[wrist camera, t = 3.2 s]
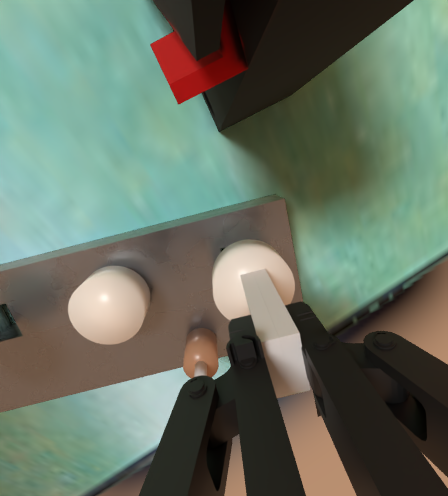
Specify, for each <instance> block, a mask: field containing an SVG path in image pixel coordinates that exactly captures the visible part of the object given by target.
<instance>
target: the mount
mask: <svg viewBox="0 0 448 496" xmlns="http://www.w3.org/2000/svg"><path fill="white" fill-rule="evenodd" d="M248 239H252V240H259V241H262V242H265V243H267V244H269V245H270V246H272V247H273V248H274V249H275V250H276V251H277V252H278V254H279V255H280V256H281V257H282V259H283V260H284V261H285V263H286V264H287V265H288V266H289V268H290V270H291V272H292V274H293V277H294V281H295V291H294V296H293V299H292V301H291V303H290V304H292V303H296V302H300V301H301V302H303V298H302V292H301V287H300V281H299V275H298V270H297V264H296V259H295V253H294V248H293V242H292V237H291V231H290V226H289V220H288V215H287V209H286V204H285V199H284V198H282V197H280V196H278V195H276V194H273V195H269V196H266V197H262V198H258V199H254V200H250V201H246V202H242V203H238V204H234V205H231V206H227V207H223V208H219V209H215V210H211V211H207V212H203V213H199V214H196V215H192V216H188V217H184V218H180V219H176V220H172V221H168V222H164V223H160V224H157V225H153V226H149V227H145V228H141V229H137V230H133V231H129V232H125V233H122V234H118V235H114V236H110V237H106V238H102V239H98V240H94V241H90V242H87V243H83V244H79V245H75V246H71V247H67V248H63V249H59V250H55V251H52V252H48V253H44V254H40V255H36V256H32V257H28V258H24V259H20V260H16V261H13V262H9V263H5V264H1V265H0V412H4V411H8V410H12V409H16V408H20V407H24V406H28V405H32V404H36V403H40V402H44V401H48V400H52V399H56V398H60V397H64V396H68V395H72V394H76V393H80V392H84V391H88V390H92V389H96V388H100V387H104V386H108V385H112V384H116V383H120V382H124V381H128V380H132V379H136V378H140V377H144V376H148V375H152V374H156V373H160V372H164V371H168V370H172V369H176V368H180V367H183V363H184V354H185V345H186V338H187V336H188V334H189V333H190V332H191V331H193V330H194V329H197V328H206V329H209V330H211V331H212V332H213V333H214V334H215V335H216V338H217V350H218V358H220V357H224V356H228V354H227V350H226V346H227V343H228V342H229V341H230V337H229V329H228V325H229V323H230V320H228V319H227V318H226V317H225V316H224V315H223V314H222V313H221V312H220V311H219V310H218V308H217V306H216V304H215V301H214V297H213V284H212V269H213V265H214V262H215V260H216V258H217V257H218V255H219V254H220V253H221V252H222V250H221V248H225V247H227V246H229V245H231V244H233V243H235V242H237V241H241V240H248ZM106 266H123V267H126V268H129V269H131V270H133V271H135V272H136V273H138V274H139V275H140V276H141V277H142V278H143V279H144V280H145V282H146V283H147V285H148V287H149V290H150V296H151V297H150V305H149V308H148V310H147V313H146V315H145V318H144V321H143V323H142V326H141V328H140V329H139V331H138V332H137V333H136V334H135V335H134V336H133V337H132V338H130V339H129V340H127V341H125V342H122V343H119V344H111V345H107V344H99V343H95V342H93V341H90V340H88V339H87V338H85V337H83V336H82V335H81V334H80V333H79V332H78V331H77V330H76V329H75V328H74V326H73V325H72V323H71V321H70V318H69V314H68V304H69V300H70V298H71V296H72V294H73V293H74V291H75V290H76V289H77V288H78V287H79V286H80V285H81V284H82V283H83V282H84V281H85V280H86V279H87V278H88V277H89V276H90V275H91V274H92V273H93V272H95V271H96V270H98V269H100V268H103V267H106ZM5 303H6V305H7V307H8V309H9V311H10V312H11V314H12V316H13V318H14V320H15V322H16V324H11V322H10V321H9V319H8V317H7V315H6V313H5V311H4V310H3V308H2V306H1V304H5Z"/></svg>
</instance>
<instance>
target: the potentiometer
mask: <svg viewBox="0 0 448 496" xmlns="http://www.w3.org/2000/svg"><path fill="white" fill-rule="evenodd" d="M183 369H184V372H185V373H186V375H187V376H189V377H190V378H194V377H196V376H201V375H205V376H209V377H212V376H214V375H215V373H216V372H217V370H218V350H217V338H216V335H215V334H214V333H213V332H212V331H211V330H209V329H206V328H197V329H194V330H193V331H191V332H190V333H189V334H188V336H187V338H186V345H185V354H184V363H183Z"/></svg>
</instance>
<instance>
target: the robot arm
mask: <svg viewBox="0 0 448 496" xmlns="http://www.w3.org/2000/svg"><path fill="white" fill-rule="evenodd" d="M240 277H241V281H242V285H243V289H244V293H245V297H246V301H247V305H248V309H249V313H250V315H247V316H243V317H239V318H235V319H231V321H230V323H229V325H228V329H229V337H230V341H229V342H228V343H227V346H226V350H227V354H228V357H229V360H230V364H231V367H230V368H229V370H228V371H227V372H226V373H225V374H224V375H222V376H220V377H219V378H217V379H215V380H213V378H211V377H209V376H205V375H201V376H196V377H194V378H192V379H190V380H188V381H187V382H186V383H185V384H184V385H183V387H182V388H181V390H180V392H179V395H178V397H177V400H176V402H175V405H174V408H173V410H172V413H171V415H170V418H169V420H168V423H167V425H166V428H165V430H164V433H163V436H162V438H161V441H160V443H159V446H158V448H157V451H156V453H155V456H154V458H153V461H152V463H151V466H150V469H149V471H148V474H147V476H146V479H145V482H144V484H143V486H142V489H141V492H140V494H139V496H224V493H225V486H226V480H227V473H228V467H229V460H230V454H231V446H232V438H233V437H235V436H236V435H238V434H239V435H240V444H241V452H242V460H243V468H244V475H245V485H246V493H247V496H306V495H305V491H304V488H303V485H302V481H301V478H300V474H299V471H298V468H297V464H296V461H295V457H294V455H293V451H292V447H291V444H290V441H289V438H288V434H287V431H286V427H285V424H284V420H283V417H282V414H281V410H280V407H279V404H278V400H277V398H281V397H285V396H289V395H293V394H298V393H301V392H306V391H310V385H311V387H312V389H313V393H314V398H315V404H316V408H317V414H318V416H322V418H323V420H324V423H325V425H326V427H327V429H328V432H329V434H330V436H331V438H332V441H333V443H334V445H335V448H336V449H337V452H338V454H339V457H340V459H341V461H342V463H343V466H344V468H345V470H346V472H347V475H348V477H349V479H350V481H351V484H352V486H353V488H354V490H355V493H356V495H357V496H448V488H447V487H446V486H445V484H444V483H443V481H442V480H441V479H440V477H439V476H438V475H437V473H436V472H435V470H434V469H433V468H432V466H431V465H430V464H429V462H428V461H427V460H426V458H425V457H424V455H425V456H426V457H427V458H428V459H430V461H431V462H432V463H433V464H434V465H435V466H437V467H438V468H439V469H440V470H441V471H442V472H443V473H444V474H445V475H446V476H447V477H448V365H447V364H446V363H444V362H443V361H441V360H439V359H438V358H436V357H434V356H433V355H431V354H429V353H428V352H426V351H424V350H423V349H421V348H419V347H418V346H416V345H414V344H412V343H411V342H409V341H407V340H406V339H404V338H403V337H401V336H399V335H397V334H395V333H392V332H387V331H376V332H372V333H369V334H368V335H366V336H365V338H364V343H355V344H352V343H343V342H340V340H339V339H338V338H337V337H335V336H334V335H331V334H328V332H327V331H326V329H325V328H324V327H323V325H322V324H321V322H320V321H319V319H318V318H317V317H316V315H315V314H314V312H313V311H312V310H311V308H310V307H309V305H307V304H305V303H303V302H301V301H300V302H296V303H292V304H288V305H284V303H283V301H282V299H281V297H280V296H279V294H278V292H277V290H276V288H275V286H274V284H273V283H272V281H271V279H270V277H269V275H268V273H267V271H266V269H262V270H258V271H254V272H250V273H246V274H242V275H240ZM309 383H310V385H309ZM421 452H422V453H423V454H424V455H423V454H422V453H421Z"/></svg>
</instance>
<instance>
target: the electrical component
mask: <svg viewBox="0 0 448 496" xmlns="http://www.w3.org/2000/svg"><path fill="white" fill-rule="evenodd" d="M153 1H154V3H155V4H156V6H157V7H158V8H159V10H160V11H161V12H162V14H163V15H164V17H165V18H166V19H167V21H168V22H169V24H170V25H171V26H172V28H173V30H174V32H172V33H170V34H168V35H166V36H165V37H163V38H161V39H159V40H157V41H156V42H154V43H152V44H150V45H151V48H152V50H153V52H154V54H155V56H156V58H157V60H158V62H159V64H160V67H161V69H162V71H163V73H164V75H165V77H166V79H167V81H168V83H169V85H170V88H171V90H172V92H173V94H174V96H175V98H176V100H177V102H178V104H181V103H183V102H184V101H186V100H188V99H190V98H192V97H194V96H196V95H198V94H200V93H202V95H203V97H204V100H205V102H206V104H207V106H208V108H209V111H210V113H211V115H212V117H213V120H214V122H215V124H216V126H217V129H218V131H219V132H220V131H222V130H224V129H226V128H227V127H229V126H231V125H233V124H235V123H237V122H239V121H241V120H243V119H245V118H247V117H249V116H251V115H253V114H255V113H257V112H259V111H261V110H263V109H265V108H267V107H269V106H271V105H273V104H275V103H277V102H278V101H280V100H282V99H284V98H286V97H288V96H290V95H292V94H293V93H294V92H296V91H297V90H298V89H300V88H301V87H302V86H304V85H305V84H306V83H307V82H309V81H310V80H311V79H313V78H314V77H315V76H316V75H318V74H319V73H320V72H322V71H323V70H324V69H325V68H327V67H328V66H329V65H331V64H332V63H333V62H335V61H336V60H337V59H338V58H340V57H341V56H342V55H344V54H345V53H346V52H347V51H349V50H350V49H351V48H353V47H354V46H355V45H357V44H358V43H359V42H360V41H362V40H363V39H364V38H366V37H367V36H368V35H369V34H371V33H372V32H373V31H375V30H376V29H377V28H379V27H380V26H381V25H382V24H384V23H385V22H386V21H388V20H389V19H390V18H391V17H393V16H394V15H395V14H397V13H398V12H399V11H401V10H402V9H403V8H404V7H406V6H407V5H408V4H410V3H411V2H412V1H413V0H153Z"/></svg>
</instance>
